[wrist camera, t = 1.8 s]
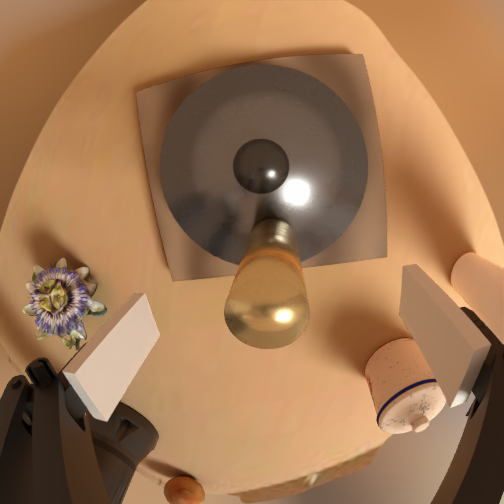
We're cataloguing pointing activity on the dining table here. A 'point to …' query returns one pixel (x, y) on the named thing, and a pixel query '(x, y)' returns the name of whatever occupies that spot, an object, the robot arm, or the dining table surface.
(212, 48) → the dining table surface
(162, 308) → the dining table surface
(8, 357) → the dining table surface
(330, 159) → the handwheel
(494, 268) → the drinking glass
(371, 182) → the base plate
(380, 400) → the teacup with lid
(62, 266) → the passion flower
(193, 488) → the onion
